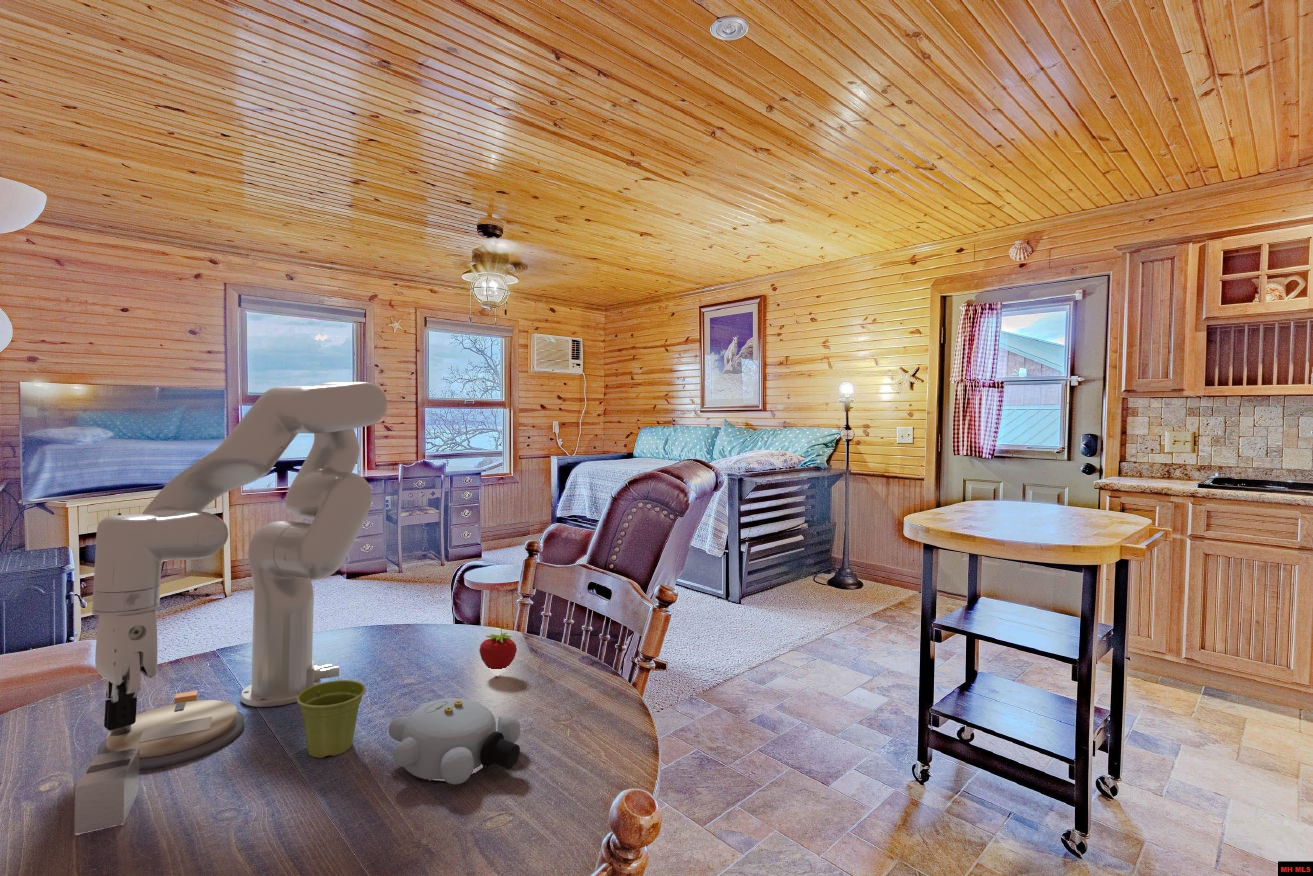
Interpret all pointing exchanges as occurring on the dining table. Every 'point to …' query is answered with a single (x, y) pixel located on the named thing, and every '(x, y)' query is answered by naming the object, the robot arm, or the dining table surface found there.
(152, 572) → the robot arm
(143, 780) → the dining table surface
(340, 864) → the dining table surface
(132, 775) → the link block
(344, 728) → the plant pot
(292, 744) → the dining table surface
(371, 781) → the dining table surface
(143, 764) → the turntable base
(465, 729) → the grey toy figure
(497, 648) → the strawberry
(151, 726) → the turntable
